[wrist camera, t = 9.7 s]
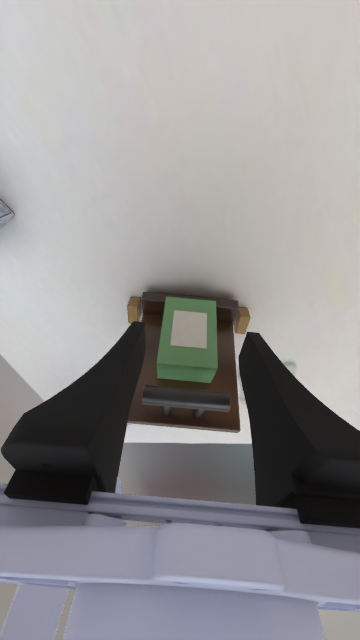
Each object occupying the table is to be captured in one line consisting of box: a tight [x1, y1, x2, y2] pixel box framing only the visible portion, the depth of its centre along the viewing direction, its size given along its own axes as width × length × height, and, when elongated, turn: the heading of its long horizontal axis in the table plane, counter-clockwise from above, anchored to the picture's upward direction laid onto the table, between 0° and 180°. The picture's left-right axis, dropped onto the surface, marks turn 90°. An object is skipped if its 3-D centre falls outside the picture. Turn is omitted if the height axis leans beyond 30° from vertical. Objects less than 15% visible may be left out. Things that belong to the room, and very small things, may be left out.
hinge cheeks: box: [127, 297, 250, 334], centre depth 24 cm, size 2×12×2 cm, turn 85°
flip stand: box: [127, 292, 240, 433], centre depth 20 cm, size 11×9×5 cm
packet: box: [157, 297, 218, 383], centre depth 20 cm, size 6×4×3 cm
